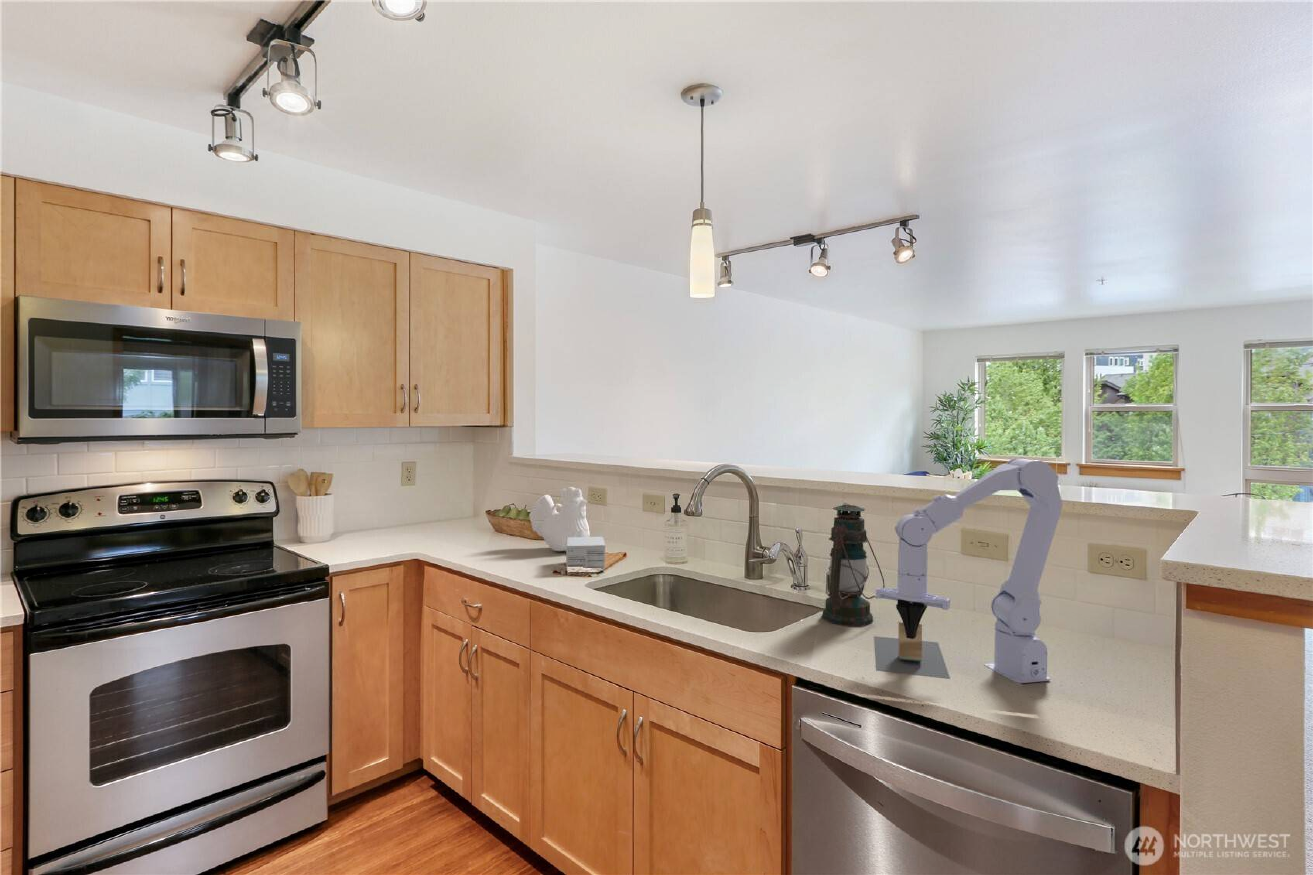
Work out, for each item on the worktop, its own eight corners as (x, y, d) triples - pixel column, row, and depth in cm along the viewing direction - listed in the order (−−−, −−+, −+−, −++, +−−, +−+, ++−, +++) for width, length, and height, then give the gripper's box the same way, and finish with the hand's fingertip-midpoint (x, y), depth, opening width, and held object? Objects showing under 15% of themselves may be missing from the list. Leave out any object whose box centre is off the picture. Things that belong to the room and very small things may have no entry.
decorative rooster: (598, 549, 259) (598, 486, 258) (571, 556, 245) (571, 489, 245) (550, 542, 273) (550, 482, 272) (522, 548, 260) (522, 485, 259)
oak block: (921, 661, 139) (921, 624, 140) (899, 658, 140) (899, 622, 141) (920, 658, 143) (920, 622, 144) (898, 656, 144) (898, 620, 146)
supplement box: (605, 572, 222) (605, 545, 221) (566, 574, 220) (566, 545, 220) (603, 561, 238) (603, 535, 238) (566, 562, 237) (566, 536, 236)
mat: (950, 680, 132) (950, 678, 132) (876, 672, 136) (876, 670, 136) (937, 644, 153) (937, 642, 153) (874, 638, 157) (874, 636, 157)
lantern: (839, 605, 184) (840, 497, 183) (891, 615, 175) (893, 502, 174) (807, 622, 169) (809, 505, 168) (862, 634, 160) (864, 510, 159)
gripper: (954, 574, 137) (952, 639, 138) (883, 564, 146) (882, 625, 147) (945, 581, 132) (944, 648, 132) (872, 570, 140) (871, 634, 141)
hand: (911, 637), depth 139 cm, fingers closed
